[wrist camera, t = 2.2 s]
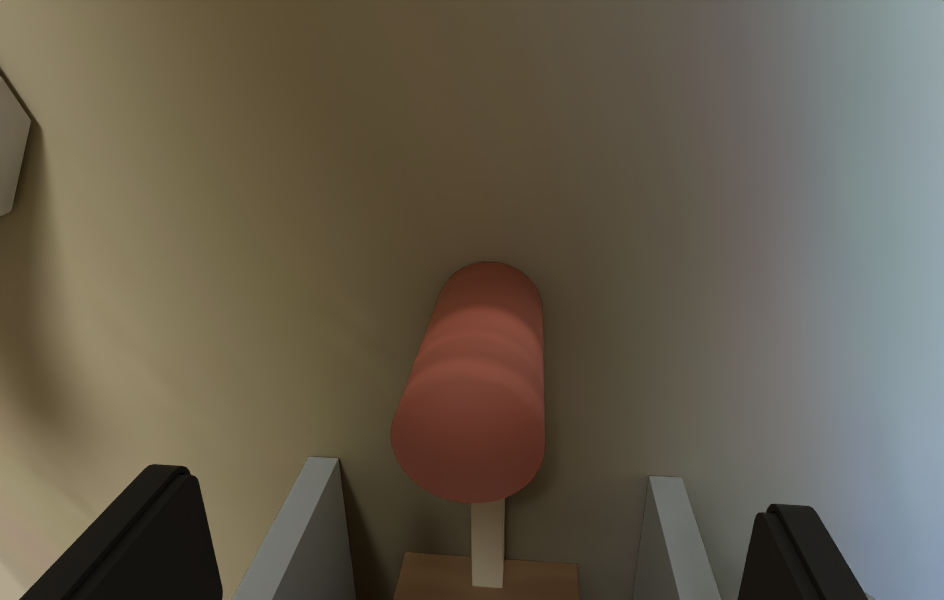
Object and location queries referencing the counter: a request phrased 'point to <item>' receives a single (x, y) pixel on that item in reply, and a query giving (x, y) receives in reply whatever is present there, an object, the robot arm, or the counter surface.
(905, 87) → the counter surface
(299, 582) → the lane shelf
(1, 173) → the flask
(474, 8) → the counter surface
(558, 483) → the counter surface
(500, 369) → the block
